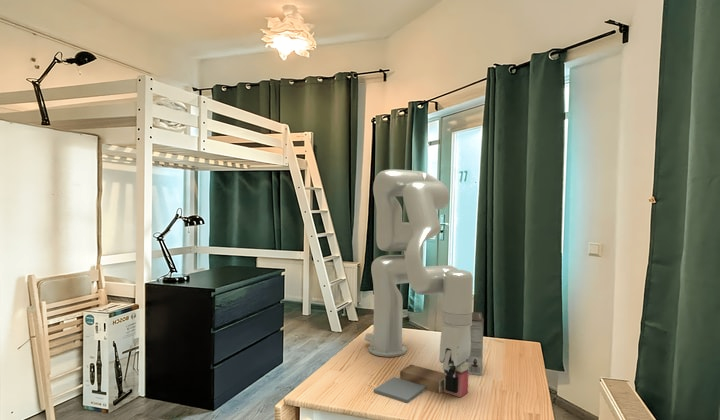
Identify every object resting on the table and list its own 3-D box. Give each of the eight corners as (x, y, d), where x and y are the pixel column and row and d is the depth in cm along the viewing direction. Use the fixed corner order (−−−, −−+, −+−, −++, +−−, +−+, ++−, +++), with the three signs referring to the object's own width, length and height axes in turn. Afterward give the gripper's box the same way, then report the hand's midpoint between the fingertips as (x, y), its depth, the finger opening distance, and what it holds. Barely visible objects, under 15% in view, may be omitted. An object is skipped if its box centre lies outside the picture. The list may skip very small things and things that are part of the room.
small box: (443, 392, 114) (443, 362, 113) (451, 387, 117) (451, 357, 117) (460, 398, 110) (461, 367, 110) (468, 392, 114) (469, 362, 113)
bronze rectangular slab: (399, 381, 120) (400, 370, 120) (410, 374, 125) (410, 364, 125) (440, 393, 113) (440, 381, 113) (449, 385, 118) (450, 374, 118)
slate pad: (373, 392, 113) (373, 389, 113) (393, 379, 121) (393, 377, 121) (407, 403, 107) (407, 399, 107) (426, 389, 115) (426, 386, 115)
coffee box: (459, 362, 135) (460, 310, 135) (480, 364, 134) (481, 312, 133) (460, 373, 126) (461, 318, 126) (483, 375, 125) (484, 320, 124)
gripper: (456, 309, 122) (455, 374, 123) (429, 322, 108) (427, 395, 109) (482, 313, 118) (481, 381, 118) (457, 328, 104) (456, 403, 104)
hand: (455, 387), depth 113 cm, fingers closed on small box, 4 cm apart
